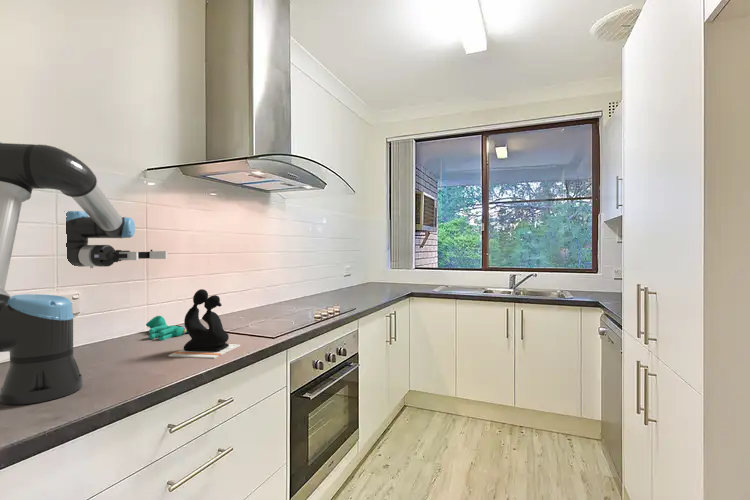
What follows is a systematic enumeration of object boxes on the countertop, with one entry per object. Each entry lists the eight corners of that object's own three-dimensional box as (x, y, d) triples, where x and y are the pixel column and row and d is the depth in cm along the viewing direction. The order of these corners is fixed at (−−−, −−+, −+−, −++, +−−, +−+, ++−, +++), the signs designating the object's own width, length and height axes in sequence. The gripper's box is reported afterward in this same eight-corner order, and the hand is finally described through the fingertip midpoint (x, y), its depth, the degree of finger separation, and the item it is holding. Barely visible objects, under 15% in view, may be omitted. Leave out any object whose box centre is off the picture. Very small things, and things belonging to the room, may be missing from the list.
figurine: (180, 351, 130) (178, 290, 130) (195, 345, 139) (194, 288, 139) (220, 352, 128) (218, 290, 128) (233, 345, 137) (232, 287, 137)
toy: (172, 329, 147) (207, 317, 166) (124, 321, 152) (164, 311, 172) (171, 347, 147) (207, 333, 167) (124, 339, 153) (163, 327, 172)
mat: (214, 358, 123) (214, 356, 123) (168, 356, 126) (168, 354, 126) (240, 345, 139) (240, 344, 139) (198, 344, 142) (198, 342, 142)
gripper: (127, 264, 151) (177, 264, 147) (65, 268, 126) (123, 268, 122) (126, 245, 150) (177, 244, 147) (64, 244, 126) (123, 244, 122)
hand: (152, 255), depth 135 cm, fingers open, 13 cm apart
